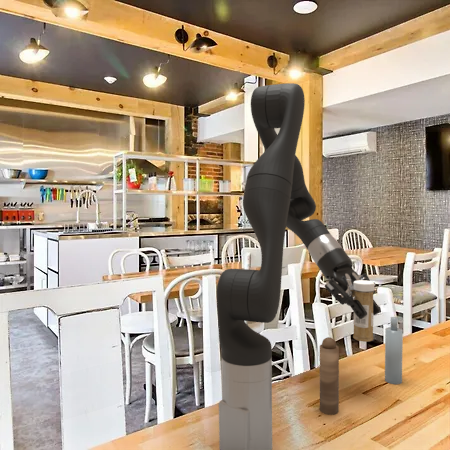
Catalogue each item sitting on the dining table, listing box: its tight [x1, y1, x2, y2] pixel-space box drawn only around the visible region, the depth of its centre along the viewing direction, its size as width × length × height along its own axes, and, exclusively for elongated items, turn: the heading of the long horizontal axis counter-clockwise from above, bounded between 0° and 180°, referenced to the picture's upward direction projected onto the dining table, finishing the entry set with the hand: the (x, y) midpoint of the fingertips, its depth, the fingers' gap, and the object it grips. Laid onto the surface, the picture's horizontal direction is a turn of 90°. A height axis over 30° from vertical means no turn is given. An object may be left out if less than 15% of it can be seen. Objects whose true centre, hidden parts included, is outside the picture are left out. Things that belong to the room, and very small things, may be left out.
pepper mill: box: [319, 337, 340, 416], centre depth 92 cm, size 4×4×16 cm
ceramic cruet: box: [384, 316, 404, 385], centre depth 106 cm, size 4×4×16 cm
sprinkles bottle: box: [352, 280, 375, 343], centre depth 98 cm, size 5×5×13 cm
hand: (370, 314), depth 97 cm, fingers closed on sprinkles bottle, 4 cm apart
